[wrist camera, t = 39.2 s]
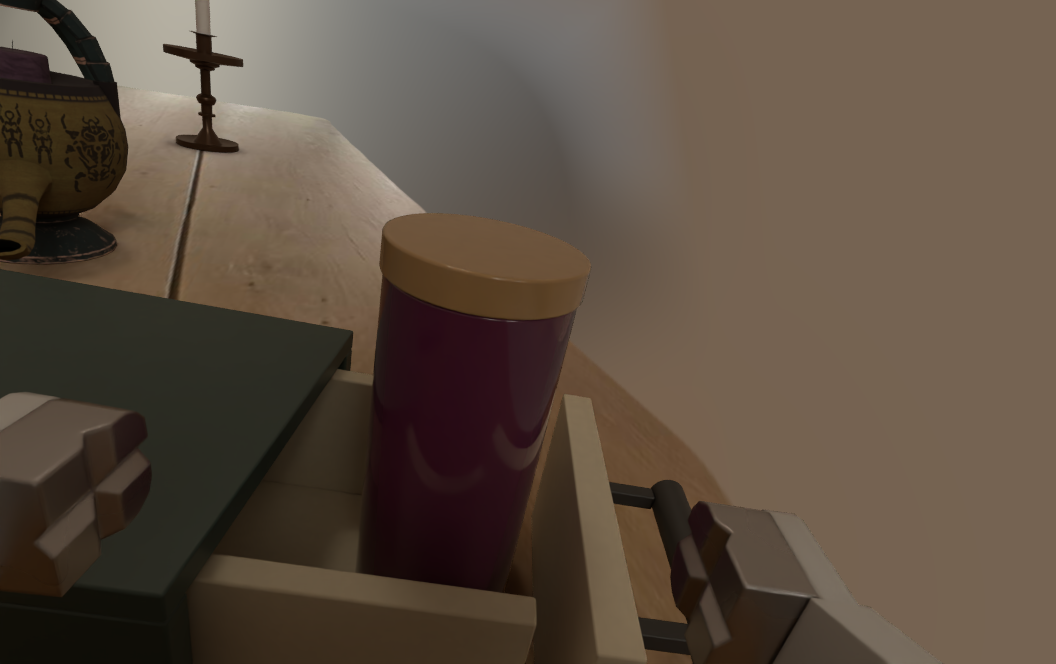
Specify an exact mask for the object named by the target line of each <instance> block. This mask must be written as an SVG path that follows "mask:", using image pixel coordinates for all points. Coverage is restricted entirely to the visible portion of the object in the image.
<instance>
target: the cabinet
mask: <svg viewBox="0 0 1056 664" xmlns="http://www.w3.org/2000/svg"><path fill="white" fill-rule="evenodd" d="M352 342H353V331H351V330H345V329H339V328H333V327H328V326H322V325H316V324H310V323H305V322H299V321H293V320H288V319H282V318H276V317H270V316H265V315H259V314H253V313H248V312H242V311H236V310H230V309H225V308H219V307H213V306H207V305H202V304H196V303H190V302H185V301H179V300H173V299H167V298H162V297H156V296H150V295H145V294H139V293H133V292H127V291H122V290H116V289H110V288H105V287H99V286H93V285H87V284H82V283H76V282H70V281H64V280H59V279H53V278H47V277H42V276H36V275H30V274H24V273H19V272H13V271H7V270H2V269H0V399H1V398H3V397H4V396H6V395H8V394H10V393H19V392H30V393H36V394H42V395H47V396H53V397H58V398H67V399H72V400H78V401H83V402H89V403H94V404H100V405H106V406H111V407H117V408H122V409H128V410H133V411H136V412H138V413H139V414H141V415H142V416H144V417H145V421H146V427H147V433H148V437H147V438H146V439H145V441H144V442H143V443H142V444H141V445H140V446H139V447H138V448H139V449H140V450H141V451H142V453H143V454H144V455H145V456H146V457H147V458H148V460H149V461H150V462H151V470H152V480H151V485H150V491H149V494H148V496H147V498H146V500H145V502H144V504H143V506H142V508H141V510H140V512H139V513H138V515H137V516H136V517H135V518H134V519H133V520H132V521H131V523H130V524H129V525H128V526H127V527H126V528H125V529H124V530H121V531H119V532H117V533H115V534H113V535H111V536H109V537H106V538H104V539H102V540H101V555H100V557H99V558H98V559H97V560H96V561H95V562H94V563H93V564H92V565H91V566H90V567H89V568H88V569H87V571H86V572H85V573H84V574H83V575H82V576H81V577H80V578H79V579H78V580H77V581H76V582H75V583H74V585H73V586H72V587H71V588H70V589H69V590H68V591H67V592H66V593H65V594H64V595H63V596H62V597H55V596H45V595H35V594H25V593H15V592H5V591H0V664H193V659H192V648H191V636H190V625H189V613H188V601H187V594H186V591H187V590H188V588H189V587H190V585H191V584H192V582H193V581H194V579H195V578H196V576H197V575H198V574H199V572H200V571H201V569H202V568H203V566H204V565H205V563H206V562H207V560H208V559H209V557H210V556H211V554H212V553H213V551H214V550H215V548H216V547H217V546H218V544H219V543H220V541H221V540H222V538H223V537H224V535H225V534H226V532H227V531H228V529H229V528H230V526H231V525H232V523H233V522H234V520H235V519H236V518H237V516H238V515H239V513H240V512H241V510H242V509H243V507H244V506H245V504H246V503H247V501H248V500H249V498H250V497H251V495H252V494H253V492H254V491H255V489H256V488H257V487H258V485H259V484H260V482H261V481H262V479H263V478H264V476H265V475H266V473H267V472H268V470H269V469H270V467H271V466H272V464H273V463H274V461H275V460H276V459H277V457H278V456H279V454H280V453H281V451H282V450H283V448H284V447H285V445H286V444H287V442H288V441H289V439H290V438H291V436H292V435H293V433H294V432H295V430H296V429H297V428H298V426H299V425H300V423H301V422H302V420H303V419H304V417H305V416H306V414H307V413H308V411H309V410H310V408H311V407H312V405H313V404H314V402H315V401H316V400H317V398H318V397H319V395H320V394H321V392H322V391H323V389H324V388H325V386H326V385H327V383H328V382H329V380H330V379H331V377H332V376H333V374H334V373H335V372H336V370H337V369H341V370H347V371H350V368H351V354H352V350H351V348H352Z"/></svg>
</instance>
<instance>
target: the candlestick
mask: <svg viewBox="0 0 1056 664" xmlns="http://www.w3.org/2000/svg"><path fill="white" fill-rule="evenodd" d="M195 7H196V28H197V32H193V31H191V32H193V33H195V34H196V44H197V49H193V48H187V47H182V46H175V45H169V44H163V50H164V52H166V53H169V54H173V55H176V56H180V57H183V58H187V59H190V62H192V63H193V64H195V66H196V67H197V68H199V69H200V74H201V94H198V95H197V97H196V98H197V101H198V102H199V103H201V112H198V115H201V116H202V121H203V128H202V129H201V131H200V132H199V134H198V135H178V136H176V143H177V144H179V145H181V146H184V147H187V148H192V149H197V150H203V151H211V152H237V151H238V150H239V147H238V144H237V143H236V142H233V141H230V140H226V139H221V138H218V137H217V135H216V134H215V132H214V131H213V129H212V117H215V114H212V105H215V103H216V99H215V97H213V96H212V95H211V86H210V71H213V70H215V68H217V67H219V65H227V66H237V67H243V59H239V58H236V57H232V56H227V55H223V54H218V53H213V52H212V41H211V37H216V36H212V35H210V9H209V8H210V7H209V0H195Z"/></svg>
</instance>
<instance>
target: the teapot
mask: <svg viewBox="0 0 1056 664" xmlns="http://www.w3.org/2000/svg"><path fill="white" fill-rule="evenodd" d="M0 6H5V7H11V8H16V9H21V10H27V11H33V12H37V13H38V14H40V16H41V17H42V18H43V19H44V20H45V21H46V22H47V23H48V24H49V25H50V26H51V27H52V28H53V29H54V30H55V32H56V33H57V34H58V36H59V37H60V38H61V40H62V41H63V42H64V43H65V45H66V46H67V48H68V50H69V51H70V53H71V55H72V56H73V58H74V60H75V61H76V63H77V65H78V67H79V68H80V70H81V72H82V74H83V76H84V78H80V77H77V76H72V75H67V74H61V73H57V72H52V71H50V70H49V64H48V58H47V56H45V55H42V54H38V53H34V52H29V51H23V50H18V49H13V48H12V49H11V48H5V47H0V213H1V215H2V216H0V261H3V262H11V263H27V264H52V263H68V262H76V261H83V260H89V259H93V258H97V257H101V256H104V255H106V254H108V253H110V252H112V251H114V249H115V248H116V246H117V242H116V239H115V237H114V235H112V234H111V233H109V232H107V231H106V230H104V229H103V228H101V227H100V226H98V225H97V224H95V223H93V222H92V221H90V220H88V219H86V218H82V217H79V213H81V212H84V211H87V210H90V209H93V208H95V207H96V206H97V205H98V204H100V203H101V202H102V201H103V200H105V199H106V198H107V197H108V196H110V195H111V194H112V193H113V192H114V191H115V190H116V188H117V186H118V184H119V182H120V180H121V179H122V177H123V175H124V173H125V171H126V166H127V155H128V143H127V137H126V131H125V128H124V126H123V123H122V121H121V118H120V109H119V99H118V90H117V82H114V78H113V74H112V71H111V67H110V63H108V62H106V59H105V57H104V55H103V52H102V50H101V48H100V46H99V43H98V41H97V39H96V37H94V36H92V35H91V34H90V33H89V31H88V30H87V29H86V28H85V26H84V25H83V24H82V23H81V22H80V21H79V19H78V18H77V17H76V15H75V14H74V13H73V12H72V11H71V10H68V9H67V8H65V7H64V6H63V5H62V4H60V3H59V2H58V1H57V0H0ZM12 43H13V42H12ZM12 47H13V46H12Z"/></svg>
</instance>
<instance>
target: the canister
mask: <svg viewBox="0 0 1056 664" xmlns="http://www.w3.org/2000/svg"><path fill="white" fill-rule="evenodd" d="M379 266H380V269H381V272H382V285H381V296H380V307H379V318H378V329H377V340H376V350H375V361H374V372H373V383H372V394H371V405H370V416H369V426H368V437H367V448H366V459H365V470H364V481H363V492H362V503H361V513H360V524H359V535H358V546H357V557H356V568H355V573H361V574H368V575H375V576H382V577H390V578H397V579H404V580H412V581H419V582H426V583H434V584H441V585H448V586H456V587H463V588H470V589H478V590H485V591H492V592H500V593H505V589H506V585H507V582H508V578H509V574H510V570H511V566H512V562H513V558H514V554H515V550H516V546H517V542H518V538H519V534H520V530H521V526H522V523H523V519H524V515H525V511H526V507H527V503H528V499H529V495H530V491H531V487H532V483H533V479H534V475H535V471H536V468H537V464H538V460H539V456H540V452H541V448H542V444H543V440H544V436H545V432H546V428H547V424H548V420H549V416H550V412H551V409H552V405H553V401H554V397H555V393H556V389H557V385H558V381H559V377H560V373H561V369H562V365H563V361H564V357H565V353H566V350H567V346H568V342H569V338H570V334H571V330H572V326H573V321H574V318H575V314H576V310H577V308H578V307H579V306H580V305H581V303H582V302H583V298H584V294H585V290H586V287H587V283H588V279H589V275H590V271H591V264H590V261H589V259H588V258H587V257H586V256H585V255H584V254H583V253H582V252H581V251H579V250H578V249H576V248H574V247H573V246H571V245H570V244H568V243H566V242H564V241H562V240H560V239H557V238H555V237H553V236H550V235H548V234H545V233H542V232H539V231H536V230H533V229H530V228H527V227H523V226H519V225H516V224H511V223H507V222H503V221H498V220H493V219H487V218H482V217H475V216H466V215H457V214H443V213H424V214H411V215H406V216H401V217H397V218H394V219H392V220H390V221H388V222H387V223H386V224H385V225H384V227H383V229H382V240H381V251H380V262H379Z"/></svg>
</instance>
